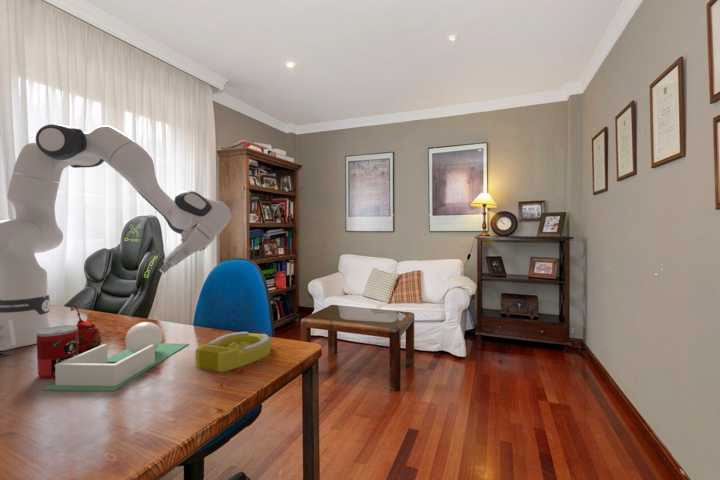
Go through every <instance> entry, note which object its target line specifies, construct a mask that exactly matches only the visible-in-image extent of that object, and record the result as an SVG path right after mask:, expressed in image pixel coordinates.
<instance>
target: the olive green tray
mask: <svg viewBox="0 0 720 480" xmlns="http://www.w3.org/2000/svg"><path fill="white" fill-rule="evenodd" d="M271 341H272V340H271V338H270V336H269V335H268V334H267V333H256V332H255V333H254V332H249V331H239V332H238V331H237V332H232V333H228V334H227V333H226V334H224V335H223V334H222V335H221V336H218V337H216V338H215V339H212V340H211V341H210V342H207V343H202V344H200V345H199V346H198V347H196V348H195V367H196V368H198V369H203V370H209V371H210V370H211V371H214V372H220V373H222V372H227V371H231V370H234V369H238V368H241V367H243V366H246V365H248V364H252V363H254V362H256V361H259V360H261V359H264V358H265V357H267V356H268V355H270V354H271V351H272V349H271V348H272V347H271V345H272V344H271V343H272V342H271Z"/></svg>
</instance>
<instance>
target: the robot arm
mask: <svg viewBox="0 0 720 480" xmlns="http://www.w3.org/2000/svg"><path fill="white" fill-rule="evenodd" d="M35 134H36V135H35V142H29V143H26V144H25V145H24V146H23V147H22V149H21V150H20V152H19V153H18V156H17V158H16V161H15V164H14V166H13V168H12V169H13V170H12V173H11V177H10V178H11V179H10V182H9V186H8V190H7V195H6V196H7V199H8V200H9V202H10V203H11V204H12V205H13V207H14V210H15V211H14V212H15V219H13V218H0V351H8V350H12V349H16V348H21V347H27V346H30V345H31V346H32V345H35V344H36V345H37V332H38V331H40V330H42V329H46V328H50V327H53V326H52V322H51V318H50V317H51V316H50V313H49V312H50V310H51V309H50V307H51V304H50V301H51V300H50V294H49V293H48V272H47V270H46V269H44V267H42V266H41V265H40V263H39V262H38V261H37V257H36V255H35V254H38V253H40V254H42V253H44V252H48V251H52V250H53V249H56V248H57V247H59V246H60V245H61V243H62V242H63V240H64V234H63V231H62V229H61V228H60V226H59V225H58V223H57V219H56V218H57V217H56V209H55V208H56V206H55V205H56V200H57V197H58V191H59V186H60V182H61V176H62V174H63V171H64V169H66V168H67V167H69V166H70V167H71V168H74V169H75V168H77V169H78V168H94V167H99V166H100V165H102V164H103V163H107V165H109V166H110V167H111V168H113V170H115V171H116V172H118V173H119V175H120V176H121V177H123V178H124V179H125V180H126V181H127V182H128V183H129V184H130V185H131V186H132V188H133V189H135V191H136V192H137V193H138V194H139V195H140V196H141V197H142V199H144V200H145V201H146V202H147V203H148V204H149V205H150V206H151V207H153V208H154V209H155V210H156V211H157V212H158V213H159V214H160V215H161V216H162V217H163V218H164V220H166V222H167V225H168V227H169V228H170V229H171V230H172V231H173V232H175V233H176V234H180V236H181V239H180V241H181V243H180V244H179V245H178V246H176V247H175V248H174V249H173V250H172V251H171V252H169V254H168V255H167V256H166V257H165V258H164V259H163V265H162V266H161V267H160V268H159V272H160V273H161V274H165V273H166V272H168V271H169V269H170V268H174V267H175V266H178V264H179V263H181V262H183V261H184V260H186V259H187V258H188V257H190V256H192V255H193V254H194V253H197V252H203V251H205V250H206V249H207V248H208V247H209V246H210V245H211V243H212V242H213V241H214V240H215V238H216V236H217V235H219V234H220V233H221V232H222V231H224V229H225V227H227V225H228V224H229V222H230V220H231V218H232V212H231V209H230V208H229V206H228V205H227V204H226V203H224V202H223V201H221V200H214V199H213V200H212V199H208V198H206V197H204V196H202V194H199V193H198V192H196V191H194V190H182V191H180V192H179V193H177V194H176V196H174V200H173V198H171V197H170V196H169V195H168V194H167V193H166V192H165V191H164V190H163V189H162V187H161V186H160V184H159V182H158V178H157V176H156V170H155V164H154V160H153V159H152V157H151V156H150V154H149V153H148V152H147V150H145V148H144V147H142V146H141V145H140V144H138V143H137V142H136V141H134V140H133V139H132V138H131V137H130V136H128V135H126V134H125V133H123V132H121V131H120V130H119V129H117V128H114V127H113V126H111V125H100V126H97V127H95V128H93V129H92V130H91V131H89V132H84V131H83V130H82V129H81V128H78V127H72V126H69V125H64V124H55V123H54V124H46V125H44V126H41V128H39V129H38V131H37V132H36V133H35Z"/></svg>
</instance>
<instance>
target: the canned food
mask: <svg viewBox="0 0 720 480" xmlns="http://www.w3.org/2000/svg"><path fill="white" fill-rule="evenodd" d="M36 354H37V355H36V357H37V375H38V377H39V378H40V379H42V380H51V379H56V376H55V364H58V363H60V362H63V361H65V360H67V359H70V358H72V357H74V356H77V355H79V354H78V327H77V326H76V325H71V324H68V325H67V324H66V325H64V324H63V325H57V326H52V327H50V328H46V329H42V330H40V331H38V332H37V343H36Z"/></svg>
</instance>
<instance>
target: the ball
mask: <svg viewBox="0 0 720 480" xmlns="http://www.w3.org/2000/svg"><path fill="white" fill-rule="evenodd" d="M124 339H125V340H124V344H125V346H126V349H127V348H128V350H129V351H131V352H132V353H136V352H138V351H140V350H142V349H144V348H146V347H148V346H149V345H155V349H157V347H158V346H159V345H160V343H162V340H163V331H162V329H161V327H160V326H159V325H157V324H156V323H155V322H151V321H143V322H138V323H137V324H134V325H133V326H132V327H131V328H129V330H128V331H127V333H126V335H125V338H124Z"/></svg>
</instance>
